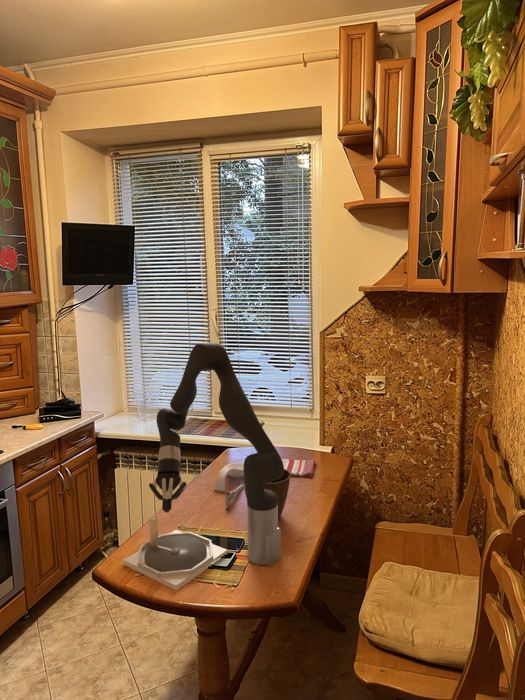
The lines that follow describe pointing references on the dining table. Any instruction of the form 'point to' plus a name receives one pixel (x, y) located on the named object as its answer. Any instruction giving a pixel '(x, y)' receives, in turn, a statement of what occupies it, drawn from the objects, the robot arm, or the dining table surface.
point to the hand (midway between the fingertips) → (166, 511)
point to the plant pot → (280, 490)
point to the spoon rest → (233, 470)
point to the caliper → (232, 495)
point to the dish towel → (299, 467)
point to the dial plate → (180, 576)
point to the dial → (173, 551)
